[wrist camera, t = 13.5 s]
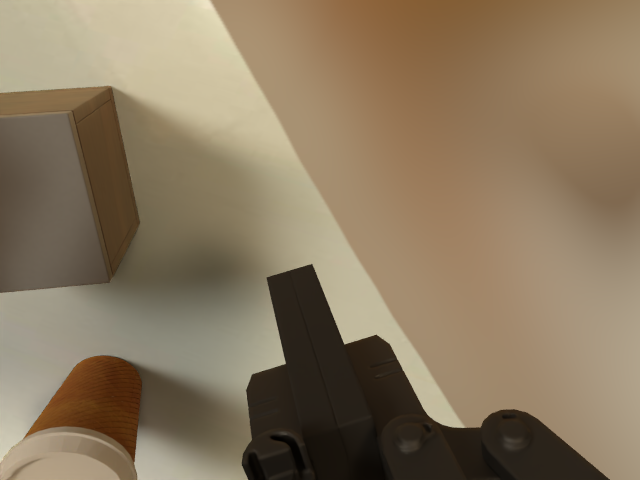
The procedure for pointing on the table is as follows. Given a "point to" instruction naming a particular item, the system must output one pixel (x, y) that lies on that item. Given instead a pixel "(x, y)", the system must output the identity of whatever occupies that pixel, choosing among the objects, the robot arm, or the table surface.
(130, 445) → the disposable coffee cup
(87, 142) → the box
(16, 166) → the lid
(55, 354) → the table surface
